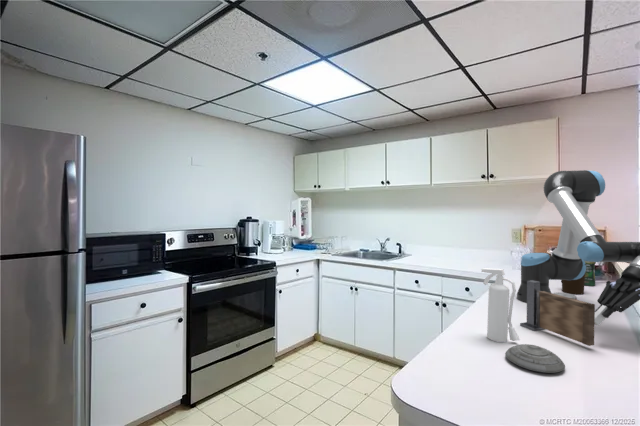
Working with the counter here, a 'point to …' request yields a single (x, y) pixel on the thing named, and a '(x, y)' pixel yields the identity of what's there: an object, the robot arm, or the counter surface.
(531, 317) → the gate post
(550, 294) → the gate
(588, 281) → the coffee jar
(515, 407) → the counter surface
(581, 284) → the olive oil
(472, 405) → the counter surface
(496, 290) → the fire extinguisher
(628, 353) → the counter surface
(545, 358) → the flying saucer
